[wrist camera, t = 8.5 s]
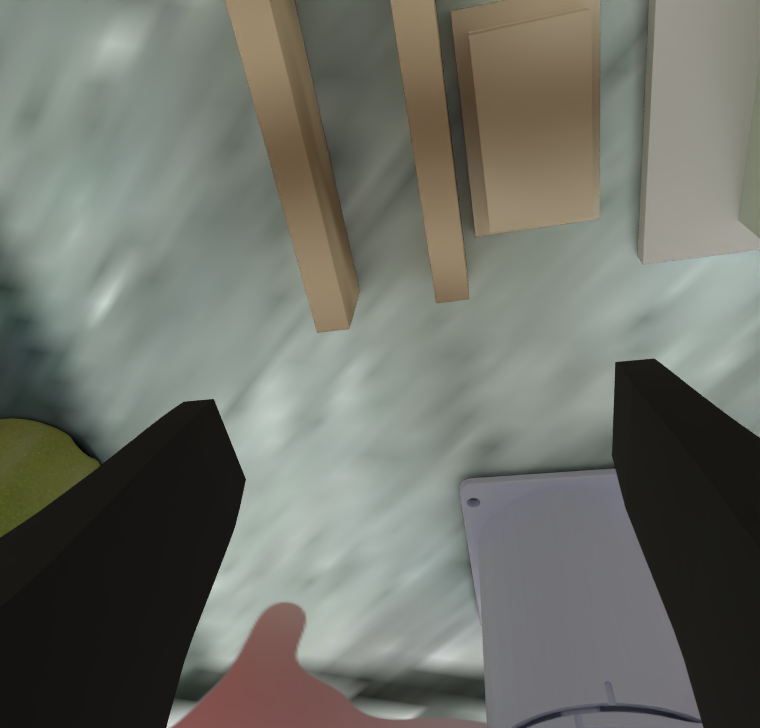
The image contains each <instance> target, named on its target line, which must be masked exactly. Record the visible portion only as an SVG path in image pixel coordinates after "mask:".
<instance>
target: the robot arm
mask: <svg viewBox="0 0 760 728" xmlns="http://www.w3.org/2000/svg"><path fill="white" fill-rule="evenodd" d="M612 457H613V461H614V465H615V469H601V470H586V471H571V472H556V473H541V474H527V475H512V476H497V477H482V478H470V479H466V480H464V481H462V483H461V484H460V499H461V505H462V512H463V518H464V524H465V531H466V537H467V543H468V550H469V556H470V562H471V568H472V575H473V581H474V587H475V594H476V600H477V606H478V613H479V619H480V624H481V626H482V637H483V657H484V677H485V697H486V717H487V728H760V438H759V437H758V436H756V435H755V434H753V433H752V432H751V431H749V430H748V429H746V428H745V427H744V426H742V425H741V424H739V423H738V422H737V421H735V420H734V419H732V418H731V417H730V416H728V415H727V414H726V413H724V412H723V411H721V410H720V409H719V408H718V407H716V406H715V405H714V404H712V403H711V402H710V401H708V400H707V399H706V398H704V397H703V396H702V395H700V394H699V393H698V392H697V391H695V390H694V389H693V388H691V387H690V386H689V385H688V384H686V383H685V382H684V381H683V380H681V379H680V378H679V377H677V376H676V375H675V374H674V373H672V372H671V371H670V370H669V369H667V368H666V367H665V366H663V365H662V364H661V363H660V362H658V361H657V360H656V359H645V360H634V361H623V362H615V389H614V417H613V444H612ZM245 481H246V479H245V476H244V474H243V471H242V469H241V466H240V464H239V461H238V459H237V456H236V454H235V451H234V449H233V446H232V444H231V441H230V439H229V436H228V434H227V431H226V429H225V426H224V424H223V421H222V419H221V416H220V414H219V411H218V409H217V406H216V404H215V401H214V399H209V400H198V401H187V402H183V403H181V404H180V405H178V406H177V407H175V408H174V409H172V410H171V411H170V412H168V413H167V414H166V415H164V416H163V417H161V418H160V419H159V420H158V421H156V422H155V423H154V424H152V425H151V426H150V427H149V428H147V429H146V430H145V431H143V432H142V433H141V434H140V435H138V436H137V437H136V438H135V439H133V440H132V441H131V442H130V443H128V444H127V445H126V446H125V447H123V448H122V449H121V450H119V451H118V452H117V453H116V454H114V455H113V456H112V457H111V458H109V459H108V460H107V461H106V462H104V463H103V464H102V465H101V466H99V467H98V468H97V469H95V470H94V471H93V472H92V473H90V474H89V475H88V476H86V477H85V478H84V479H82V480H81V481H79V482H78V483H77V484H75V485H74V486H73V487H71V488H70V489H69V490H67V491H66V492H65V493H63V494H62V495H61V496H59V497H58V498H57V499H55V500H54V501H52V502H51V503H50V504H48V505H47V506H46V507H44V508H43V509H42V510H40V511H39V512H37V513H36V514H34V515H33V516H32V517H30V518H29V519H27V520H26V521H24V522H23V523H21V524H20V525H18V526H17V527H15V528H14V529H12V530H11V531H9V532H8V533H6V534H5V535H3V536H1V537H0V728H166V727H167V723H168V719H169V715H170V711H171V708H172V704H173V700H174V697H175V693H176V690H177V686H178V682H179V679H180V675H181V671H182V668H183V664H184V661H185V658H186V655H187V652H188V649H189V646H190V643H191V641H192V638H193V635H194V632H195V630H196V627H197V625H198V622H199V620H200V617H201V614H202V612H203V609H204V607H205V604H206V602H207V599H208V596H209V594H210V591H211V589H212V586H213V584H214V581H215V579H216V576H217V573H218V571H219V568H220V566H221V563H222V560H223V558H224V555H225V553H226V550H227V547H228V545H229V542H230V539H231V537H232V534H233V531H234V528H235V525H236V521H237V517H238V513H239V509H240V504H241V500H242V495H243V490H244V486H245ZM471 498H477V500H470V499H471Z"/></svg>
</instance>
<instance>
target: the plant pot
mask: <svg viewBox="0 0 760 728" xmlns="http://www.w3.org/2000/svg"><path fill="white" fill-rule="evenodd" d="M99 466H101V465H100V464H99V462H98V461H97V460H96V459H93V458H91V457H89V456H87V455H86V454H84V453H83V452H82V451H81V450H80V449H79V448H78V447H77V445H76V444H75V443H74V442H73V440H72V438H71V437H70V436H69V435H68V434H66V433H64V432H62V431H61V430H59V429H57V428H54V427H52V426H49V425H46V424H43V423H41V422H37V421H32V420H26V419H16V418H10V419H0V537H1V536H3V535H5V534H6V533H8V532H9V531H11V530H12V529H14V528H15V527H17V526H18V525H20V524H21V523H23V522H24V521H26V520H27V519H29V518H30V517H32V516H33V515H34V514H36V513H37V512H39V511H40V510H42V509H43V508H44V507H46V506H47V505H48V504H50V503H51V502H52V501H54V500H55V499H57V498H58V497H59V496H61V495H62V494H63V493H65V492H66V491H67V490H69V489H70V488H71V487H73V486H74V485H75V484H77V483H78V482H79V481H81V480H82V479H84V478H85V477H86V476H88V475H89V474H90V473H92V472H93V471H94V470H95V469H97V468H98V467H99Z"/></svg>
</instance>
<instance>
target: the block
mask: <svg viewBox="0 0 760 728" xmlns="http://www.w3.org/2000/svg"><path fill="white" fill-rule="evenodd" d="M738 221H739V222H741V223H742V224H743V225H744V226H745V227H747V228H748V229H749V230H750V231H751V232H752V233H754V234H755V235H756V236H757V237H758V238H760V60H759V68H758V75H757V83H756V90H755V98H754V105H753V113H752V120H751V128H750V135H749V143H748V150H747V158H746V165H745V173H744V180H743V188H742V195H741V203H740V210H739V218H738Z"/></svg>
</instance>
